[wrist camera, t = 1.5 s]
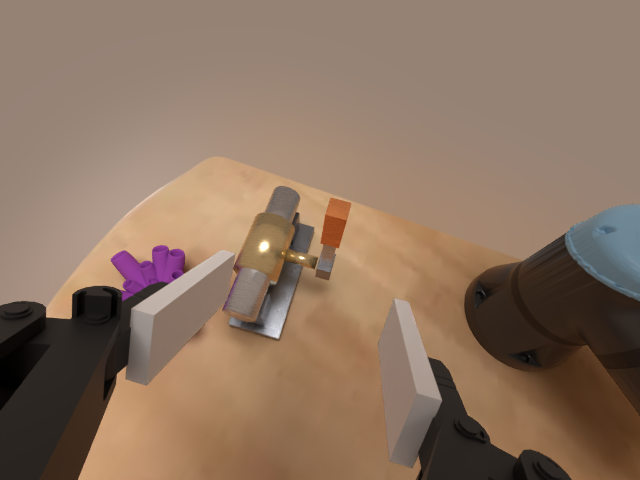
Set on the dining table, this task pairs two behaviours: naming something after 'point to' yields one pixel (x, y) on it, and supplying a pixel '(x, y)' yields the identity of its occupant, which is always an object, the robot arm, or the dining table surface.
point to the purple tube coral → (149, 269)
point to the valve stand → (270, 267)
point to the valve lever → (332, 235)
